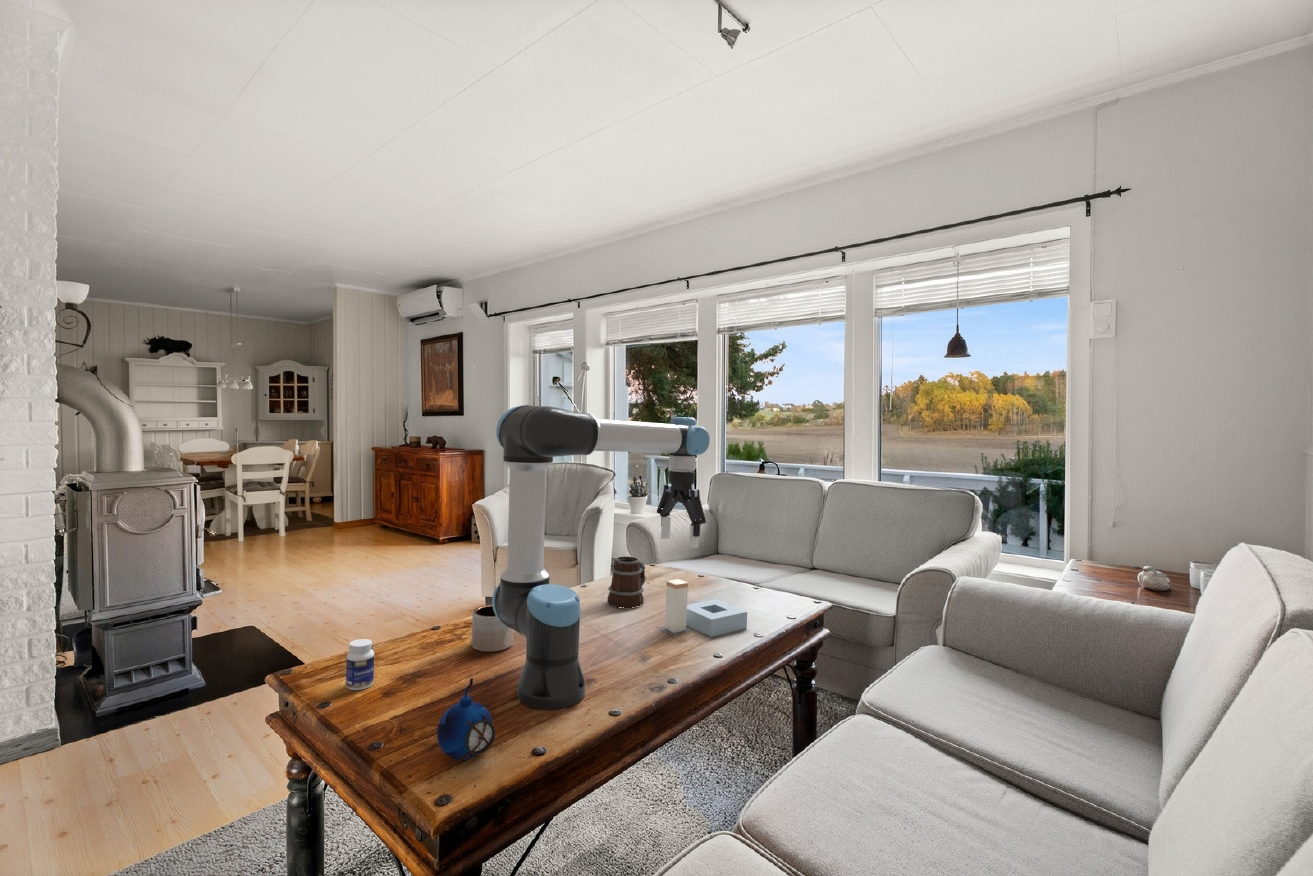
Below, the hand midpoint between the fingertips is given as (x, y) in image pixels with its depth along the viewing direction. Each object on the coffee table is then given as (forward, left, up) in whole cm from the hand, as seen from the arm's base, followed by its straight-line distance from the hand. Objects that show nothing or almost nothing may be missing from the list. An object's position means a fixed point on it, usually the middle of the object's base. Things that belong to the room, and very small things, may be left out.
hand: (679, 543), depth 180 cm
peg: (0, 0, -25) cm, 25 cm away
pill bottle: (-83, +9, -27) cm, 88 cm away
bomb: (-72, -32, -27) cm, 83 cm away
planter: (-49, +17, -27) cm, 58 cm away
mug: (+4, +31, -27) cm, 41 cm away
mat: (0, 0, -26) cm, 26 cm away
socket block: (+12, -3, -26) cm, 29 cm away
